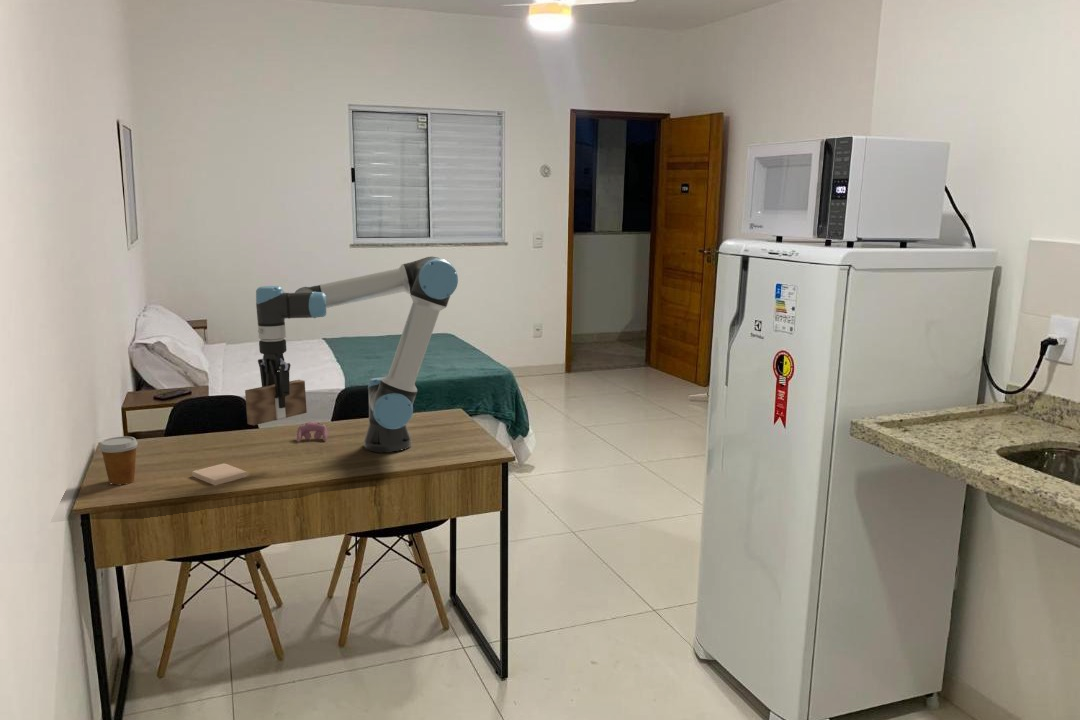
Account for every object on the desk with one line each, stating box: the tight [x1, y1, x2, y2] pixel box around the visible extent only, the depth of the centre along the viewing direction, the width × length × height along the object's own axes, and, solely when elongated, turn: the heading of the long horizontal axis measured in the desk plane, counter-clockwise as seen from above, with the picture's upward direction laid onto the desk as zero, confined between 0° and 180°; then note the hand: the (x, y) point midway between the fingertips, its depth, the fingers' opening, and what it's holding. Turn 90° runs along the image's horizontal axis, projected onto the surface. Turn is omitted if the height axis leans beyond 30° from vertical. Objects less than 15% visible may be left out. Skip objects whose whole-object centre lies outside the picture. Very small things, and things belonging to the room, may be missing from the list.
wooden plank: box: [244, 379, 308, 426], centre depth 235 cm, size 18×3×10 cm, turn 141°
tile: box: [191, 463, 248, 486], centre depth 229 cm, size 2×12×10 cm
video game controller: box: [296, 421, 328, 443], centre depth 267 cm, size 10×5×7 cm, turn 101°
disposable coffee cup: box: [98, 436, 139, 485], centre depth 222 cm, size 10×10×12 cm
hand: (277, 417), depth 236 cm, fingers closed on wooden plank, 3 cm apart
